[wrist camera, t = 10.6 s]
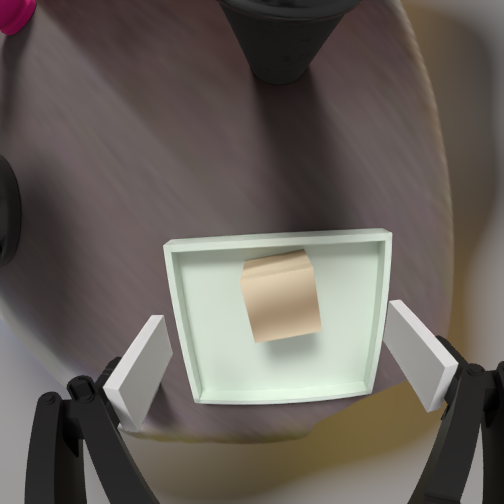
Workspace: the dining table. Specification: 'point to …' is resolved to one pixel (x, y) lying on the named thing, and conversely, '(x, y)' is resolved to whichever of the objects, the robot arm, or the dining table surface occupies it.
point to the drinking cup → (283, 33)
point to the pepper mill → (15, 14)
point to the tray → (286, 349)
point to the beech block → (280, 296)
